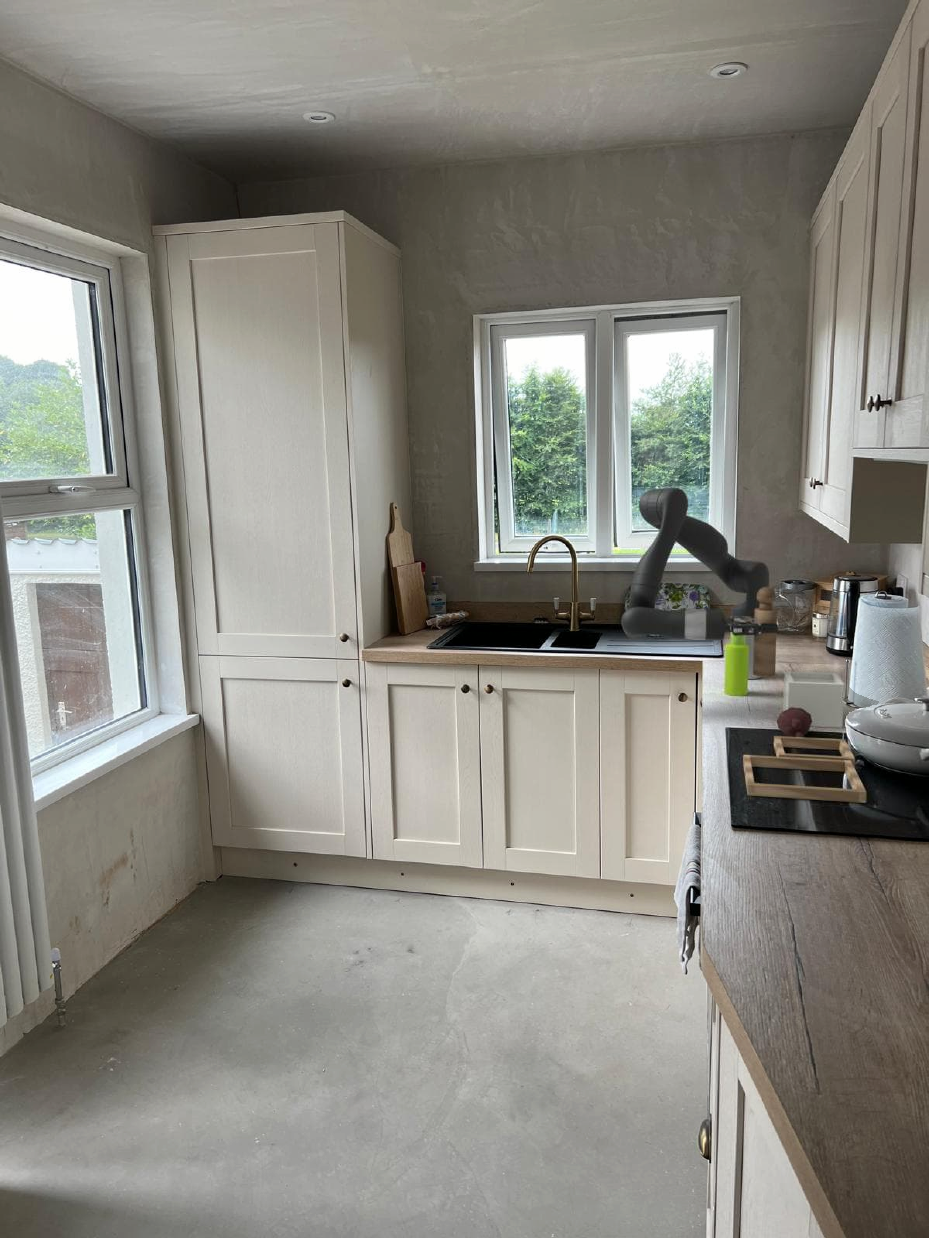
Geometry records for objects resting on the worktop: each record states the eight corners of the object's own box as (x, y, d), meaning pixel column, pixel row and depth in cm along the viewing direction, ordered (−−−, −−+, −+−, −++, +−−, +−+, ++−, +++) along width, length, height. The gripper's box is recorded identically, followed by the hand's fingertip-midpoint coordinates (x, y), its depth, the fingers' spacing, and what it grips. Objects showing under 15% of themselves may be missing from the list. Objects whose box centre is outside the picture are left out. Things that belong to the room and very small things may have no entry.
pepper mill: (752, 671, 226) (754, 585, 222) (774, 671, 225) (777, 585, 221) (753, 676, 221) (755, 588, 217) (775, 676, 220) (778, 588, 216)
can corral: (773, 744, 199) (774, 735, 199) (844, 748, 195) (844, 739, 195) (778, 764, 186) (779, 754, 186) (854, 768, 183) (855, 758, 182)
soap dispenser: (752, 696, 240) (754, 621, 237) (725, 695, 241) (727, 621, 238) (750, 691, 246) (752, 617, 242) (723, 690, 247) (725, 617, 244)
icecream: (770, 699, 212) (777, 723, 197) (804, 693, 210) (813, 716, 195) (777, 727, 213) (784, 752, 199) (810, 721, 211) (820, 746, 197)
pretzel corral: (743, 764, 187) (743, 754, 186) (850, 770, 182) (850, 760, 181) (747, 795, 169) (747, 784, 169) (865, 802, 164) (866, 792, 164)
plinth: (782, 711, 225) (784, 671, 223) (834, 713, 222) (836, 673, 220) (787, 725, 213) (788, 682, 212) (842, 727, 210) (844, 684, 209)
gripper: (704, 614, 217) (779, 615, 212) (704, 604, 230) (775, 605, 226) (704, 645, 218) (778, 647, 214) (703, 633, 232) (774, 635, 228)
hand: (776, 625), depth 220 cm, fingers closed on pepper mill, 5 cm apart
